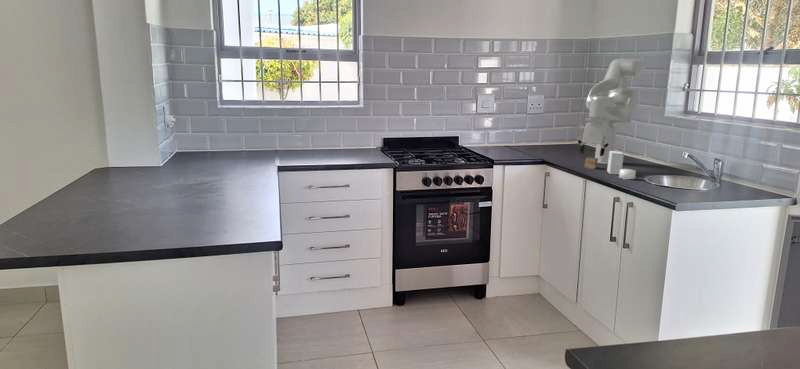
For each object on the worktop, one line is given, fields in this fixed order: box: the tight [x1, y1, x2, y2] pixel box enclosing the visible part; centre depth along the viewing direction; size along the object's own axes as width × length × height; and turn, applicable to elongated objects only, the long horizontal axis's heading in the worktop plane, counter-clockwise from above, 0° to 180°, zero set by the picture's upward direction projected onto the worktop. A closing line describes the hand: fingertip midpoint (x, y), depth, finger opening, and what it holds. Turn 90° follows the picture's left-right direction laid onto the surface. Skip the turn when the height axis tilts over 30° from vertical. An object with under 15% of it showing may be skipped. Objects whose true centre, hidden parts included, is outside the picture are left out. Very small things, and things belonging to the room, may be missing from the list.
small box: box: [606, 150, 625, 176], centre depth 277 cm, size 8×6×10 cm
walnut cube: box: [584, 156, 599, 170], centre depth 289 cm, size 5×5×5 cm
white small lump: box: [618, 168, 637, 180], centre depth 266 cm, size 7×7×4 cm
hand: (591, 154), depth 287 cm, fingers open, 9 cm apart
